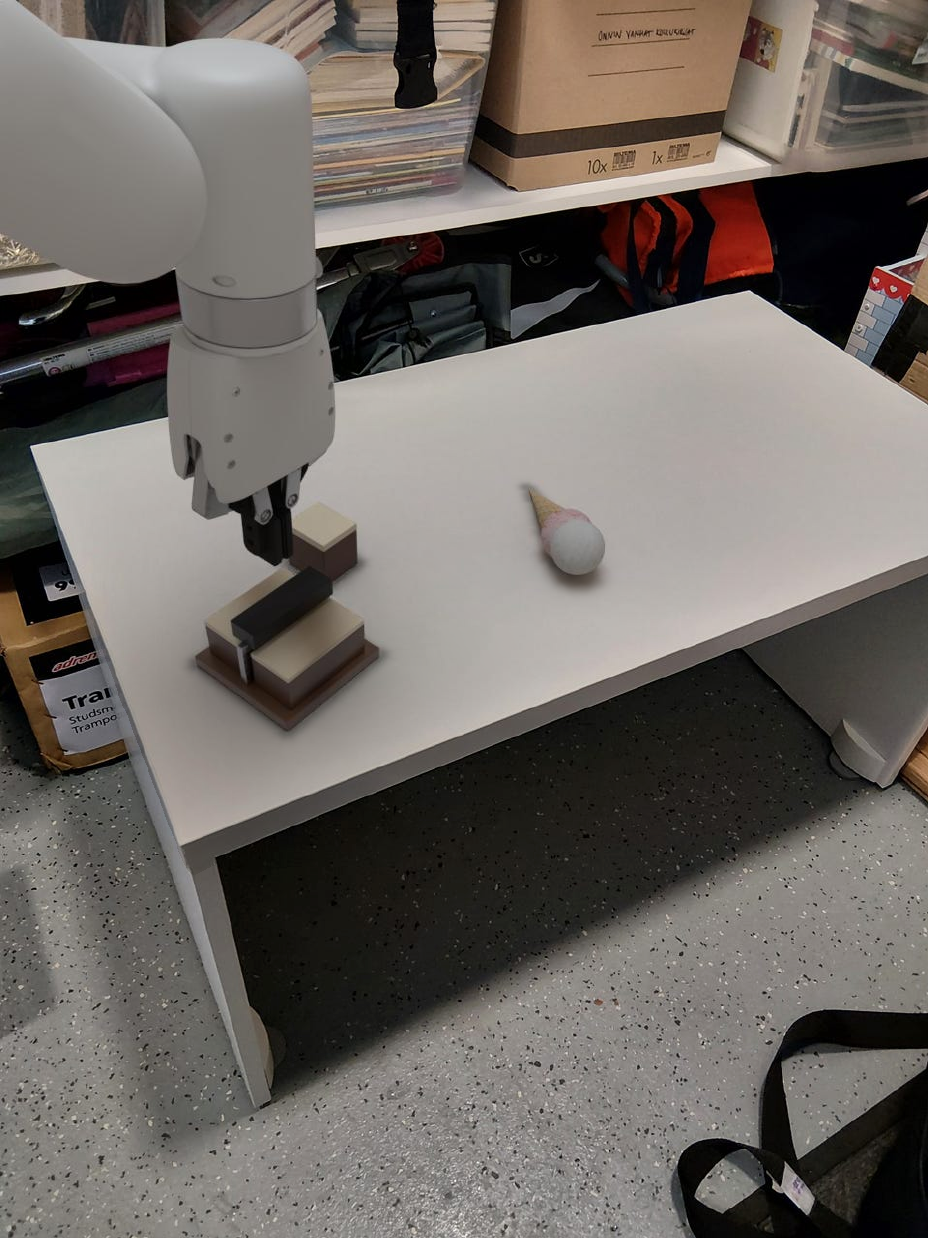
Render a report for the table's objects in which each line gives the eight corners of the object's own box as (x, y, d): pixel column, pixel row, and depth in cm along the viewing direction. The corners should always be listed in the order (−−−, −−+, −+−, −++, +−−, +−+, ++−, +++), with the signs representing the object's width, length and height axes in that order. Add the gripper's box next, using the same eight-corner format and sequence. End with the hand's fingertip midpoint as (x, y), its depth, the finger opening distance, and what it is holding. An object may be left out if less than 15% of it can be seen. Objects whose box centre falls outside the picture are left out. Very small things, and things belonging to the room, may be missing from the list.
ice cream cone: (497, 502, 91) (552, 576, 79) (519, 459, 89) (578, 527, 77) (537, 517, 93) (596, 590, 81) (559, 475, 91) (624, 544, 79)
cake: (288, 731, 68) (283, 691, 65) (196, 664, 72) (187, 623, 69) (379, 656, 74) (379, 615, 71) (290, 598, 78) (286, 557, 75)
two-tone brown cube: (325, 586, 79) (323, 545, 76) (288, 563, 81) (285, 522, 78) (357, 563, 82) (356, 523, 79) (321, 541, 84) (318, 501, 80)
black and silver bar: (255, 692, 69) (247, 640, 65) (233, 676, 70) (224, 623, 66) (339, 627, 75) (337, 575, 71) (317, 613, 76) (314, 561, 72)
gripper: (297, 243, 58) (307, 484, 71) (92, 320, 49) (145, 580, 62) (388, 283, 55) (381, 527, 68) (188, 373, 46) (223, 634, 59)
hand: (269, 552), depth 65 cm, fingers closed
